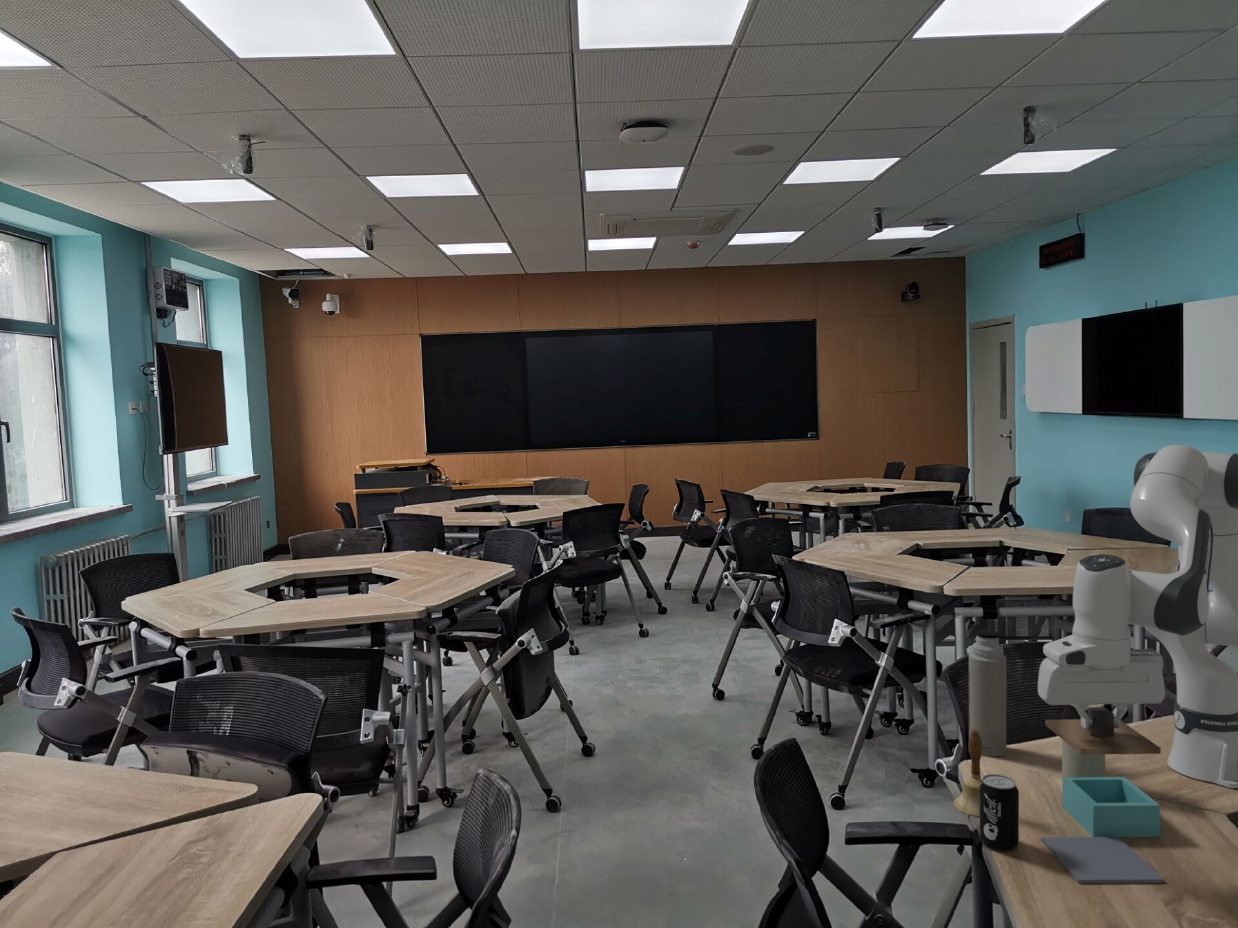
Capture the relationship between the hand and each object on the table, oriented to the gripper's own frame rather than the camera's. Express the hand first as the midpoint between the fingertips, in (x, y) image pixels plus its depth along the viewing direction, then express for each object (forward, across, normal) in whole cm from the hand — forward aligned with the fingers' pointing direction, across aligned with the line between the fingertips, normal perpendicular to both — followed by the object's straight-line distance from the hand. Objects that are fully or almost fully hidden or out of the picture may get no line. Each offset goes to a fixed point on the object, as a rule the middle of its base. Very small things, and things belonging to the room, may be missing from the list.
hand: (1100, 727), depth 148 cm
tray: (+24, 0, 0) cm, 24 cm away
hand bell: (+24, +14, -20) cm, 35 cm away
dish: (+24, -9, -14) cm, 29 cm away
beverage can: (+24, +15, -6) cm, 29 cm away
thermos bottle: (+24, +1, -48) cm, 54 cm away
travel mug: (+24, -12, -30) cm, 40 cm away
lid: (+2, 0, 0) cm, 2 cm away
